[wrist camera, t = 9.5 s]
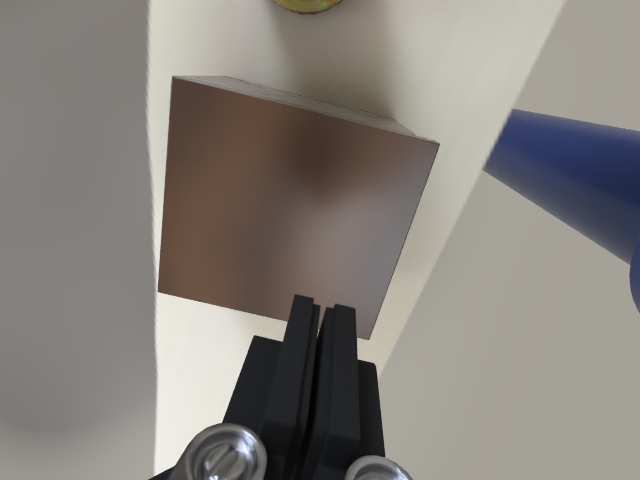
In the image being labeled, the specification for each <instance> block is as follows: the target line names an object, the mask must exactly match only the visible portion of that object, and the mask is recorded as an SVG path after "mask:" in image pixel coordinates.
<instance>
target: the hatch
mask: <svg viewBox="0 0 640 480" xmlns="http://www.w3.org/2000/svg"><path fill="white" fill-rule="evenodd" d="M439 146H440V144H439V143H438V142H436V141H434V140H430V139H426V138H422V137H418V136H415V135H411V134H407V133H403V132H399V131H395V130H391V129H387V128H383V127H379V126H375V125H371V124H367V123H363V122H360V121H356V120H352V119H348V118H344V117H340V116H336V115H332V114H328V113H324V112H320V111H316V110H312V109H308V108H305V107H301V106H297V105H293V104H289V103H285V102H281V101H277V100H273V99H269V98H265V97H261V96H257V95H253V94H249V93H246V92H242V91H238V90H234V89H230V88H226V87H222V86H218V85H214V84H210V83H206V82H202V81H198V80H194V79H191V78H187V77H183V76H172V85H171V100H170V115H169V130H168V145H167V160H166V175H165V190H164V205H163V220H162V234H161V249H160V264H159V279H158V292H160V293H164V294H168V295H173V296H177V297H182V298H186V299H190V300H195V301H199V302H204V303H208V304H212V305H217V306H221V307H226V308H230V309H234V310H239V311H243V312H248V313H252V314H256V315H261V316H265V317H269V318H274V319H278V320H283V321H287V322H288V319H289V315H290V311H291V307H292V303H293V299H294V295H295V294H298V295H303V296H307V297H311V298H314V303H313V304H317V305H321V308H320V316H319V325H318V329H320V326H321V323H322V320H323V316H324V313H325V309H326V307H330V308H334V305H335V303H336V304H340V305H345V306H349V307H353V308H355V310H356V333H357V338H362V339H366V340H369V339H370V336H371V333H372V331H373V328H374V325H375V322H376V320H377V317H378V314H379V311H380V309H381V306H382V303H383V300H384V298H385V295H386V292H387V289H388V287H389V284H390V281H391V278H392V276H393V273H394V270H395V267H396V265H397V262H398V259H399V256H400V254H401V251H402V248H403V245H404V242H405V240H406V237H407V234H408V231H409V229H410V226H411V223H412V220H413V218H414V215H415V212H416V209H417V207H418V204H419V201H420V198H421V196H422V193H423V190H424V187H425V185H426V182H427V179H428V176H429V174H430V171H431V168H432V165H433V162H434V160H435V157H436V154H437V151H438V149H439Z"/></svg>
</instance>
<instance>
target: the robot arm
mask: <svg viewBox="0 0 640 480" xmlns="http://www.w3.org/2000/svg"><path fill="white" fill-rule="evenodd" d="M313 303H314V298H311V297H307V296H303V295H298V294H295V295H294V299H293V303H292V307H291V311H290V315H289V319H288V323H287V327H286V331H285V335H284V340H283V342H281V341H276V340H272V339H268V338H264V337H259V336H255V335H254V337H253V339H252V342H251V345H250V347H249V350H248V353H247V356H246V358H245V361H244V364H243V367H242V369H241V372H240V375H239V378H238V380H237V383H236V386H235V389H234V391H233V394H232V397H231V400H230V402H229V405H228V408H227V411H226V414H225V416H224V419H223V422H222V423H219V424H216V425H213V426H210V427H207V428H206V429H204V430H203V431H201V432H200V433H198V434H197V435H196V436H195V437H194V438H193V440H192V441H191V442H190V443H189V444H188V446H187V447H186V449H185V451H184V452H183V454H182V455H181V457H180V459H179V460H178V462H177V464H176V465H175V466H174V467H172V468H170V469H168V470H166V471H164V472H162V473H160V474H158V475H156V476H154V477H153V478H151V479H149V480H412V478H411V477H410V476H409V474H408V473H407V472H406V471H405V470H404V469H403V468H402V467H400V466H399V465H398V464H397V463H395V462H393V461H391V460H389V459H387V458H385V449H384V439H383V430H382V419H381V410H380V400H379V390H378V380H377V370H376V365H375V364H374V363H370V362H366V361H362V360H358V359H357V333H356V310H355V308H353V307H349V306H345V305H340V304H336V303H335V305H334V308H330V307H326V309H325V313H324V316H323V320H322V323H321V326H320V330H319V333H318V325H319V316H320V308H321V305H317V304H313ZM317 334H318V337H317Z"/></svg>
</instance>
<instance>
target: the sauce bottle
mask: <svg viewBox="0 0 640 480" xmlns="http://www.w3.org/2000/svg"><path fill="white" fill-rule="evenodd" d="M272 1H274V2H275V3H277V4H279V5H280V6H282V7H284V8H286V9H288V10H290V11H292V12H296V13H298V14H302V15H304V14H316V13H319V12H322V11H325V10H327V9H329V8H331V7H332V6H335V5H338V4H339V3H340V2H341V1H342V0H272Z"/></svg>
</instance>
